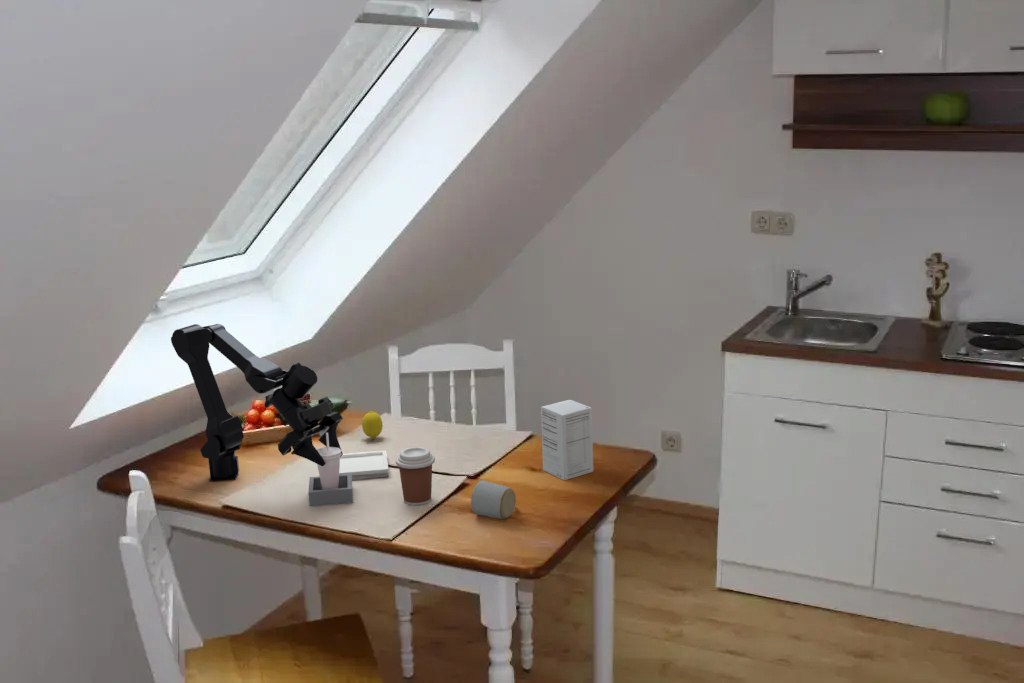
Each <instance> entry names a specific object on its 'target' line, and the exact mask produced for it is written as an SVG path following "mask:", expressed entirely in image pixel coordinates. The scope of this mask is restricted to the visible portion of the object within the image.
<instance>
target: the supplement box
mask: <svg viewBox="0 0 1024 683" xmlns="http://www.w3.org/2000/svg"><path fill="white" fill-rule="evenodd" d="M540 419H541V447H542V448H541V449H542V451H541V452H542V471H543V472H546V473H548V474H550V475H552V476H554V477H556V478H559V479H561V480H562V481H567V480H570V479H574V478H577V477H580V476H584V475H586V474H590V473H593V472H594V447H593V446H594V443H593V442H594V440H593V408H592V407H591V406H588V405H585V404H583V403H580V402H578V401H576V400H573V399H567V400H563V401H559V402H554V403H551V404H547V405H543V406H541V407H540Z"/></svg>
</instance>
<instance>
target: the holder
mask: <svg viewBox="0 0 1024 683" xmlns="http://www.w3.org/2000/svg"><path fill="white" fill-rule="evenodd" d="M308 479H309V480H308V482H309V483H308V492H307V493H308V504H309V507H310V506H311V507H321V506H330V505H331V506H332V505H342V504H343V505H344V504H352V503H354V497H353V496H354V493H353V492H354V491H353V487H354V486H353V480H352V474H341V475H339V485H338V488H337V489H326V490H322V485H321V481H320V476H310V477H309V478H308ZM311 507H310V508H311Z"/></svg>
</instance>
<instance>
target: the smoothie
mask: <svg viewBox="0 0 1024 683" xmlns="http://www.w3.org/2000/svg"><path fill="white" fill-rule="evenodd" d="M326 442H327V447H326V446H325V447H321V448H316V450H317V451H318V452H319V454H320V455H321V457H322V458H323V460H324V461H325V463H326V464H325V465H324V466H321V465H318V464H316V466H317V470H318V474H319V476H320V481H321V485H322V490H326V489H337V488H338V485H339V468H340V456H341V454H342V453H343V452H342V453H341V450H342V448H341V449H339V448H337V447H329V437H328V433H326Z"/></svg>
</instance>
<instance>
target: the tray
mask: <svg viewBox="0 0 1024 683" xmlns="http://www.w3.org/2000/svg"><path fill="white" fill-rule="evenodd" d="M389 473H390V472H389V464H388V455H387V450H386V449H385V450H374V451H373V450H372V451H363V452H361V451H360V452H349V453H343V455H342V456H341V457H340V468H339V475H341V474H352V481H353V480H363V479H364V480H365V479H376V478H388V477H390V474H389Z"/></svg>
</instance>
